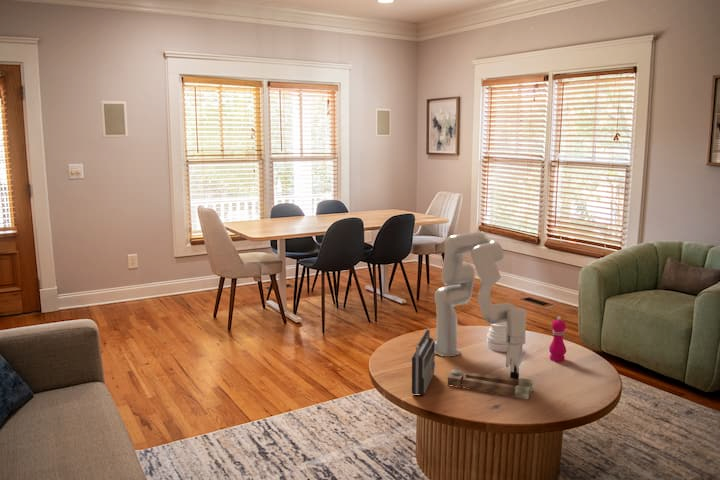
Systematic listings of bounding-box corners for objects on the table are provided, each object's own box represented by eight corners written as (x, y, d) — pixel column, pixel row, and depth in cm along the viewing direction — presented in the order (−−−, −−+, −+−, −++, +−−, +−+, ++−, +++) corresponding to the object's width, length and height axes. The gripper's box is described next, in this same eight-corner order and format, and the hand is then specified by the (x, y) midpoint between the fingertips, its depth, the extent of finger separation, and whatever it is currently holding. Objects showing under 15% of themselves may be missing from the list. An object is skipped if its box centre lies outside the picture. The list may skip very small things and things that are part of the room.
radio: (425, 397, 235) (425, 348, 231) (411, 395, 236) (412, 347, 233) (436, 373, 258) (436, 328, 254) (423, 372, 259) (424, 327, 256)
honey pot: (485, 341, 296) (486, 306, 293) (512, 342, 294) (513, 307, 291) (487, 351, 284) (488, 314, 281) (515, 352, 282) (516, 314, 279)
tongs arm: (465, 383, 247) (465, 374, 246) (466, 380, 249) (467, 371, 249) (531, 391, 238) (531, 382, 237) (532, 388, 241) (532, 379, 240)
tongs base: (446, 385, 246) (446, 376, 245) (452, 377, 253) (452, 368, 252) (528, 399, 232) (528, 389, 231) (531, 391, 239) (532, 382, 238)
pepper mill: (563, 356, 275) (565, 314, 272) (567, 362, 268) (569, 319, 265) (547, 356, 276) (549, 314, 272) (550, 362, 269) (552, 319, 265)
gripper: (509, 331, 250) (508, 373, 253) (502, 343, 236) (500, 387, 239) (528, 334, 246) (527, 376, 250) (521, 345, 233) (520, 390, 236)
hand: (514, 381), depth 244 cm, fingers closed
